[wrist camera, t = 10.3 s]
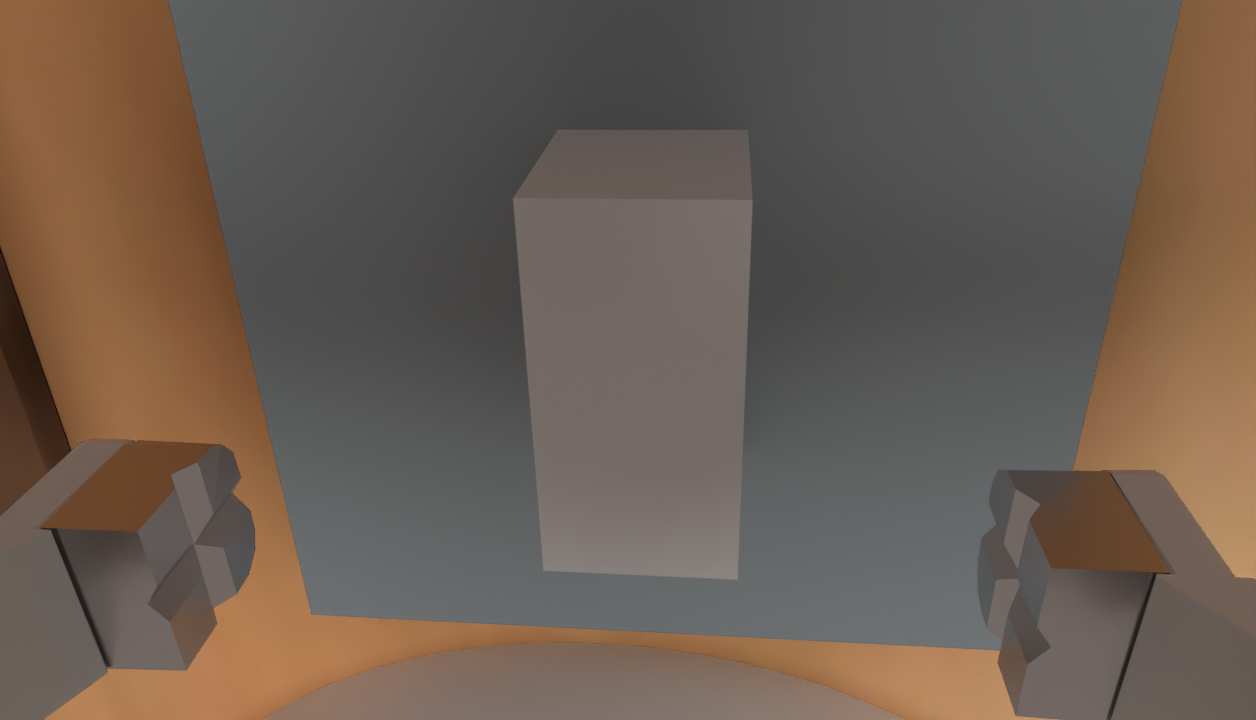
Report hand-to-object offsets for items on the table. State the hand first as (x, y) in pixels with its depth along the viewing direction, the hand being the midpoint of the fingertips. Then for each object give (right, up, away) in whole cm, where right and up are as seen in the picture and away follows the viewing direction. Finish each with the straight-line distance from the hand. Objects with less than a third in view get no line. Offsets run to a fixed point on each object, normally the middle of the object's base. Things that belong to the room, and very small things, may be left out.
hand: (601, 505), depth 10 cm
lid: (+1, +3, +8) cm, 8 cm away
